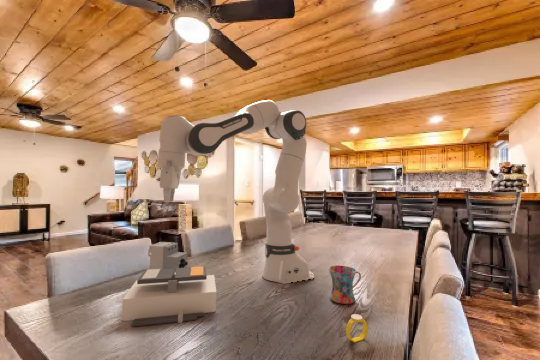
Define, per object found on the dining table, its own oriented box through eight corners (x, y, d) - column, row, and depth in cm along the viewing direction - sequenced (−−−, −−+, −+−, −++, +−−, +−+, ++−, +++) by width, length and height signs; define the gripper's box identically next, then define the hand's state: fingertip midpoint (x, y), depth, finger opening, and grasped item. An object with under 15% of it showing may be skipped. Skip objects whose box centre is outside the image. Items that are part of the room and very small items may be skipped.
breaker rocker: (206, 270, 91) (206, 265, 91) (206, 280, 81) (206, 275, 81) (144, 274, 86) (144, 269, 86) (137, 285, 76) (137, 279, 76)
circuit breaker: (180, 287, 98) (181, 247, 98) (147, 284, 100) (148, 245, 101) (190, 280, 105) (191, 243, 105) (159, 277, 108) (160, 241, 108)
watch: (351, 347, 63) (350, 322, 63) (344, 340, 65) (343, 317, 65) (370, 339, 65) (369, 316, 65) (362, 334, 68) (361, 311, 68)
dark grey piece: (204, 314, 77) (204, 308, 77) (204, 320, 74) (204, 313, 74) (133, 322, 72) (133, 315, 72) (130, 328, 69) (130, 321, 69)
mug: (337, 308, 83) (337, 274, 83) (323, 296, 92) (323, 266, 92) (369, 303, 86) (369, 271, 87) (352, 293, 95) (352, 264, 95)
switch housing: (213, 291, 94) (214, 265, 95) (215, 311, 79) (216, 279, 79) (136, 297, 88) (137, 269, 88) (121, 321, 72) (123, 286, 73)
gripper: (177, 159, 80) (174, 203, 80) (183, 165, 100) (181, 200, 99) (156, 157, 79) (152, 202, 78) (166, 164, 99) (163, 200, 98)
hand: (168, 201), depth 89 cm, fingers open, 8 cm apart
